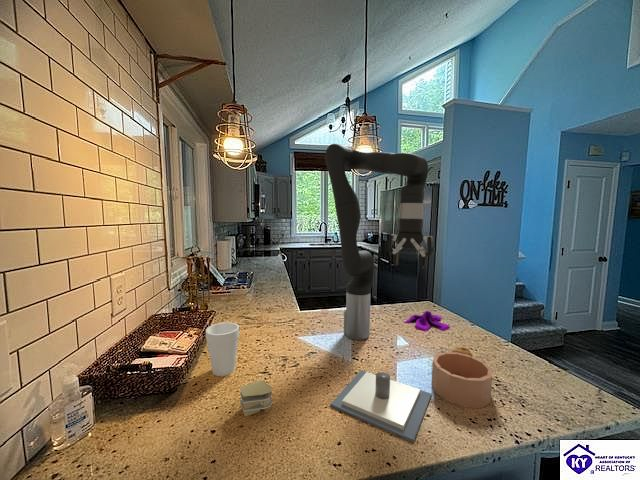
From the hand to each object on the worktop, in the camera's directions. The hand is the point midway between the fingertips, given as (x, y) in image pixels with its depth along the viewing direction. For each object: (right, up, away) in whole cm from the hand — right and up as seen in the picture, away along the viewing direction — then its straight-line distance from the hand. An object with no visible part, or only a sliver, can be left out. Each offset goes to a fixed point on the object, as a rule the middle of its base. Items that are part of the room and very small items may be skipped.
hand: (409, 266), depth 92 cm
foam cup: (-59, -31, -8) cm, 67 cm away
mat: (-14, -32, -22) cm, 41 cm away
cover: (-14, -31, -22) cm, 41 cm away
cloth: (+16, -28, +30) cm, 45 cm away
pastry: (+16, -31, -2) cm, 35 cm away
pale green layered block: (-45, -33, -25) cm, 61 cm away
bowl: (+8, -32, -17) cm, 37 cm away
